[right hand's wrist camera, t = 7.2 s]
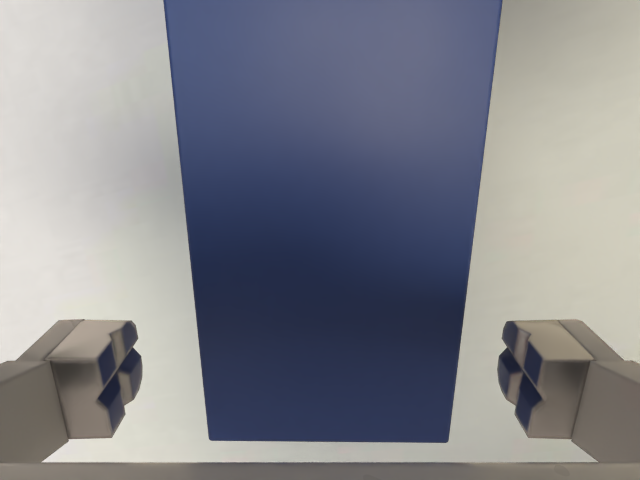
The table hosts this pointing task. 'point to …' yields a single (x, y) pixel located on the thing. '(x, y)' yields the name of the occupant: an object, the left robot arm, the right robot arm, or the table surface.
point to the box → (331, 208)
